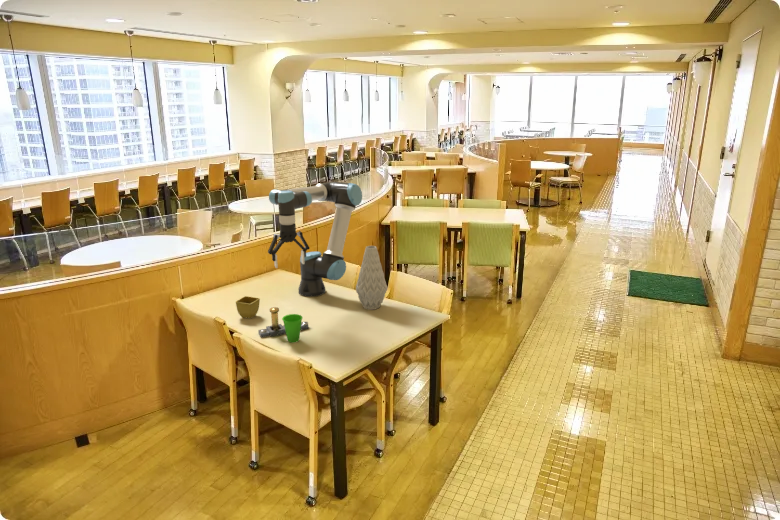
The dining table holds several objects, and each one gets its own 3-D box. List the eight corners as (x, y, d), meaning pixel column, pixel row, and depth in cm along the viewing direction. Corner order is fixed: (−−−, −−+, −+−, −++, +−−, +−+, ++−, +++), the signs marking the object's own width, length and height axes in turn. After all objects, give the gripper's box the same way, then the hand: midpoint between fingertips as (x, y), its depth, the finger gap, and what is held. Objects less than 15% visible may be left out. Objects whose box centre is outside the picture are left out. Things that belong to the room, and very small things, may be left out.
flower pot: (261, 314, 270) (260, 297, 267) (251, 320, 262) (250, 303, 259) (246, 312, 273) (245, 295, 270) (236, 318, 265) (235, 301, 262)
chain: (305, 323, 259) (305, 319, 258) (310, 329, 253) (310, 324, 252) (257, 332, 249) (257, 328, 248) (261, 338, 243) (261, 333, 242)
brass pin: (278, 330, 252) (277, 306, 248) (281, 333, 248) (279, 309, 245) (270, 331, 250) (268, 308, 246) (272, 335, 246) (270, 311, 243)
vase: (351, 310, 275) (350, 249, 266) (361, 299, 291) (360, 241, 281) (382, 314, 271) (382, 252, 262) (390, 302, 286) (391, 244, 277)
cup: (284, 336, 245) (283, 314, 242) (304, 335, 246) (303, 313, 243) (282, 344, 237) (281, 322, 233) (302, 344, 237) (301, 321, 234)
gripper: (309, 219, 264) (311, 260, 270) (259, 224, 253) (262, 266, 259) (314, 222, 257) (316, 264, 264) (263, 227, 247) (266, 270, 253)
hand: (289, 265), depth 261 cm, fingers open, 13 cm apart
